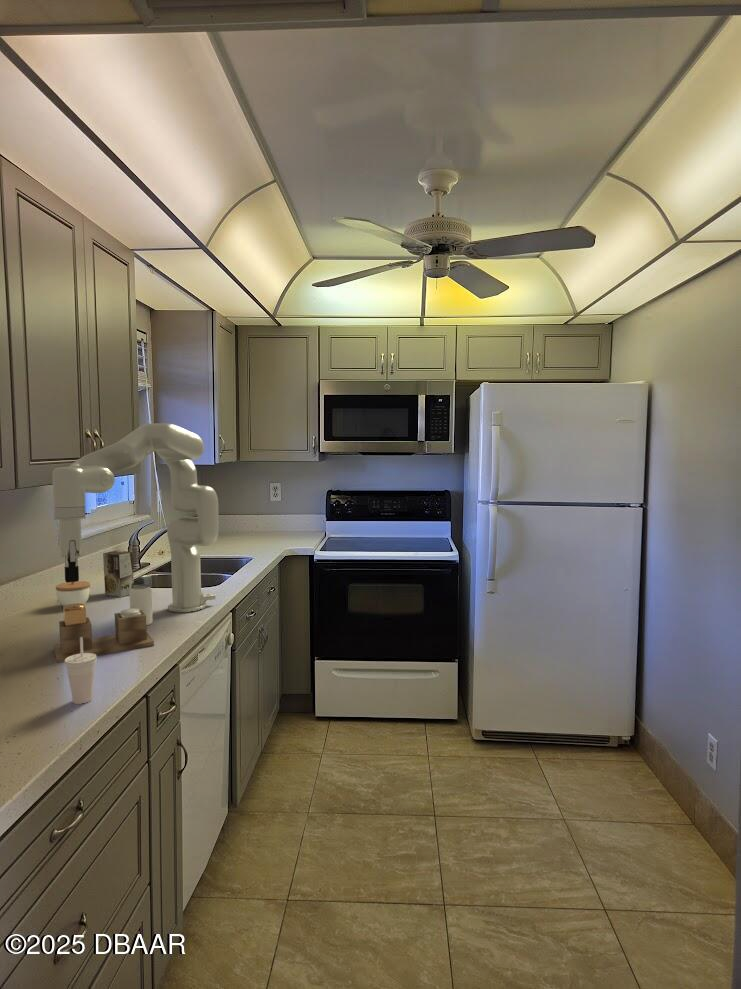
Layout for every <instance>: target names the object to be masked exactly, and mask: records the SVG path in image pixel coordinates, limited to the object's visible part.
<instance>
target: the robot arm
mask: <svg viewBox="0 0 741 989" xmlns="http://www.w3.org/2000/svg"><path fill="white" fill-rule="evenodd" d="M204 450H205V444H204V441H203V439H202V438H201V437H200V436H199V435H198V434H197V433H195V432H192V431H189V430H188V429H186V428H183V427H181V426H178V425H177V424H173V423H168V422H167V423H166V422H163V423H160V422H159V423H157V422H156V423H154V422H153V423H144V424H142V425H140V426H138V427H137V428H136V429H134V430H133V431H131V432H130V433H128V434H127V435H126V436H125V437H122V438H121V439H119V440H118V441H117V442H115V443H113V444H111V445H108V446H105V447H102V448H100V449H98V450H94V451H92V452H90V453H88V454H85V455H83V456H82V457H80V458H78V459H77V460H76V461H74V462H73V463H71V464H70V465H68V466H64V467H63V466H62V467H56V468H54V469H53V471H52V494H53V495H52V500H53V501H52V502H53V520H54V521H55V520H56V521H58V522H57V524H58V525H57V538H58V539H57V540H58V541H57V543H58V544H57V547H58V550H57V552H58V555H59V556H60V557H61V558H64V582H65V583H66V582H77V581H80V579H79V578H80V577H79V576H80V575H79V574H80V573H79V570H80V569H79V564H78V562H79V561H78V559H79V558H78V557H80V556H81V555H82V520H83V519H86V493H88V494H101V493H106V492H108V491H110V490H111V489H112V488H113V487H114V484H115V475H114V472H119V471H120V472H121V471H124V470H127V469H131V468H134V467H135V466H137V465H138V464H139V463H141V462H142V461H143V460H144V459H146V458H147V457H149V456H150V455H151V454H152V453H154V452H156V455H158V457H160V459H161V460H163V461H164V463H165V464H166V466H167V467H168V470H169V473H170V493H171V494H170V495H171V496H170V498H171V507H172V509H173V510H174V511H175V512H178V513H185V514H196V515H197V517H195V516H177V517H174V518H172V519H171V520H170V521H169V523H168V524H167V527H166V528H167V529H166V534H167V538H168V543H169V547H170V557H171V558H170V560H171V561H170V562H171V568H170V569H171V590H172V591H171V592H172V594H171V595H172V597H171V598H172V602H171V603H170V604H168V605H167V610H168V611H170V612H173V613H190V612H191V611H193V612H197V610H198V611H200V609H201V610H203V609H205V608H206V607H207V601H212V600H216V594H215V593H213V594H212V593H211V594H210V593H205V594H204V593H203V592H202V578H201V576H202V575H201V574H202V573H201V568H202V567H201V555H200V551H199V549H198V547H197V546H199V547H200V546H201V547H208V546H209V547H210V546H212V545H214V544H215V543H216V542H217V540H218V537H219V531H220V530H219V526H220V525H219V523H220V521H219V518H220V517H219V515H220V514H219V497H218V494H217V492H216V490H215V489H214V488H213V487H211V486H209V485H199V484H198V476H197V475H198V474H197V468H196V465H195V463H194V462H193V461H194V460H195V461H196V460H198V459H199V458H201V457H202V456H203V454H204ZM191 613H192V612H191Z"/></svg>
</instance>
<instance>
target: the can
mask: <svg viewBox="0 0 741 989" xmlns="http://www.w3.org/2000/svg"><path fill="white" fill-rule="evenodd" d="M128 596H129V609H139V610H142V611H143V612H144V614H145V615H146V627H148V626H150V625H152V623H153V621H154V620H153V598H152V596H153V594H152V589H151V586H150V584H134V586H132V587H131V590H130V593H129V595H128ZM147 625H148V626H147Z"/></svg>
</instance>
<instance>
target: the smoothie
mask: <svg viewBox="0 0 741 989" xmlns="http://www.w3.org/2000/svg"><path fill="white" fill-rule="evenodd" d="M97 656H98V655H97ZM97 656H96V655H95V654H93V653H83V637H80V654H75V655H72V656H69V657H67V658H66V659H65V661H64V667H66V673H67V677H68V682H69V687H70V694H71V697H72V704H75V705H83V704H82V703H85V704H87V703H86V702H88V703H90V702H91V701H92V700H93V694H94V692H93V691H94V680H95V670H96V662H97V661H98V658H97ZM91 699H92V700H91ZM90 700H91V701H90ZM89 701H90V702H89Z"/></svg>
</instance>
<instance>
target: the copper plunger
mask: <svg viewBox="0 0 741 989" xmlns="http://www.w3.org/2000/svg"><path fill="white" fill-rule="evenodd" d="M85 604H86V603H85ZM85 604H82V603H75V604H69V605H66V606H62V608H63V609H62V610H63V612H62V613H63V621H64V627H67V626H73V625H80V624H86V617H87V608H86V606H85Z"/></svg>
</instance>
